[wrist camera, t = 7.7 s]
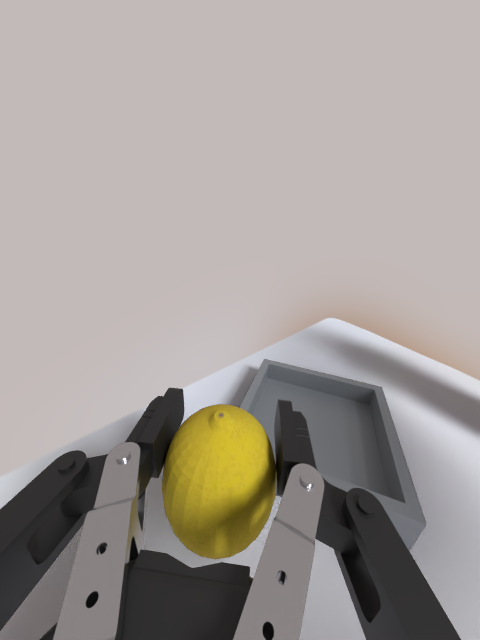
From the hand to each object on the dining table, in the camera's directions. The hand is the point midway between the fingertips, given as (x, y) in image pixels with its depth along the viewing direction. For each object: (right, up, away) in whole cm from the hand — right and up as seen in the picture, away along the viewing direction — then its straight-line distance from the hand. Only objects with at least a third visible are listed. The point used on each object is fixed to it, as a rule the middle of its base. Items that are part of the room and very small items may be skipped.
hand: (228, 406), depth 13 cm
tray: (+9, -8, +14) cm, 18 cm away
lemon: (-1, -7, 0) cm, 7 cm away
